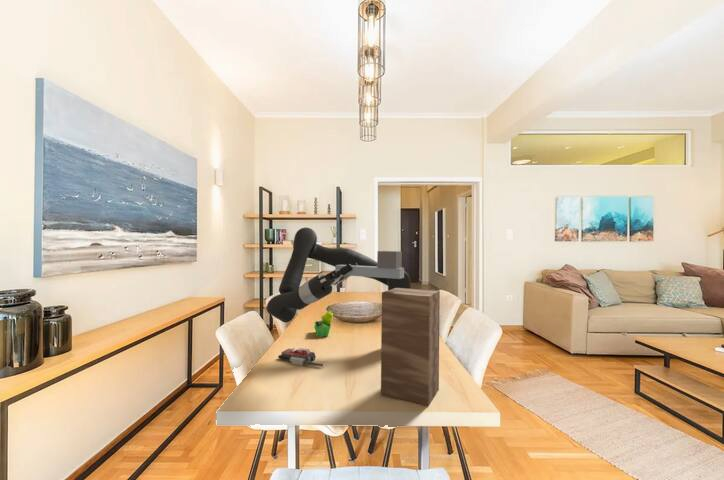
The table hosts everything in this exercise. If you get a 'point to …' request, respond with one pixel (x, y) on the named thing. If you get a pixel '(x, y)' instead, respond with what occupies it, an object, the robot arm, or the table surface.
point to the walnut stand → (410, 345)
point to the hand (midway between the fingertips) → (354, 266)
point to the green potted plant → (324, 325)
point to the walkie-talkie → (299, 356)
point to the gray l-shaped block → (380, 266)
